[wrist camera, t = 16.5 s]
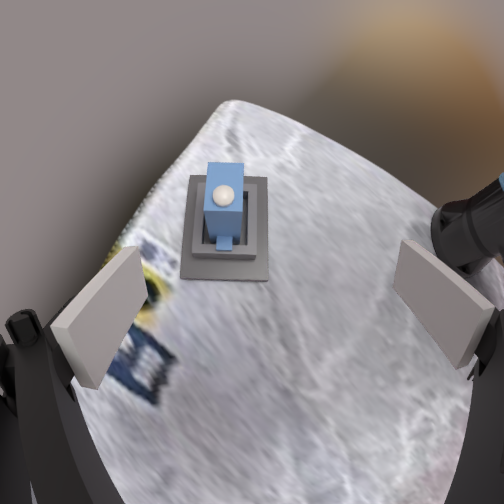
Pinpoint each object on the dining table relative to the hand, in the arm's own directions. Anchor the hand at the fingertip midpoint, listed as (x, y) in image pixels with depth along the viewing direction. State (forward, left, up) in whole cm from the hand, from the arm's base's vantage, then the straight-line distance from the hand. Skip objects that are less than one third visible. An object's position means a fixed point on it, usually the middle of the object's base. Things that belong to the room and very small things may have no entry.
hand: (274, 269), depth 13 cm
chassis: (-2, -12, -26) cm, 28 cm away
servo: (-2, -12, -25) cm, 27 cm away
